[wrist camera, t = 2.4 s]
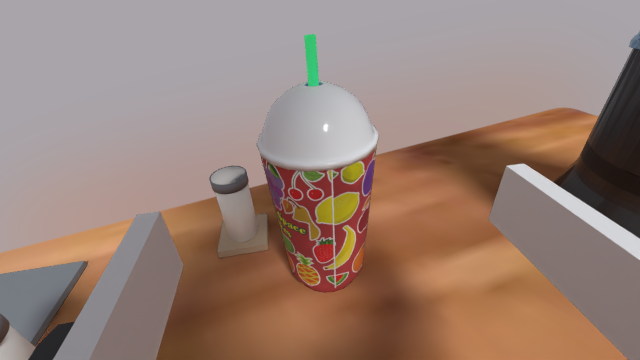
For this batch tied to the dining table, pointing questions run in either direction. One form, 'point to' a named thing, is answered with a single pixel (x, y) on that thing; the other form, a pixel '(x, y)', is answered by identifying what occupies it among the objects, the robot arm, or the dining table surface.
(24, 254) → the dining table surface
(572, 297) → the robot arm
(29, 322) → the mat
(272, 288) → the dining table surface
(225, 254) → the post far
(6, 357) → the post near
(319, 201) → the smoothie
